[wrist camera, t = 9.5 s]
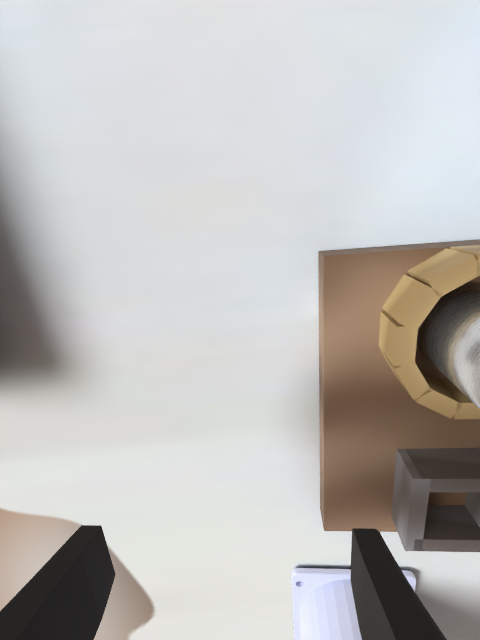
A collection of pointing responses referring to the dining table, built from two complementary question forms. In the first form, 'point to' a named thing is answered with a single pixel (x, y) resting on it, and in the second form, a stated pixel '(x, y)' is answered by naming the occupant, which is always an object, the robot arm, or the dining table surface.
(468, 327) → the steel peg
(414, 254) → the socket board
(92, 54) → the dining table surface
